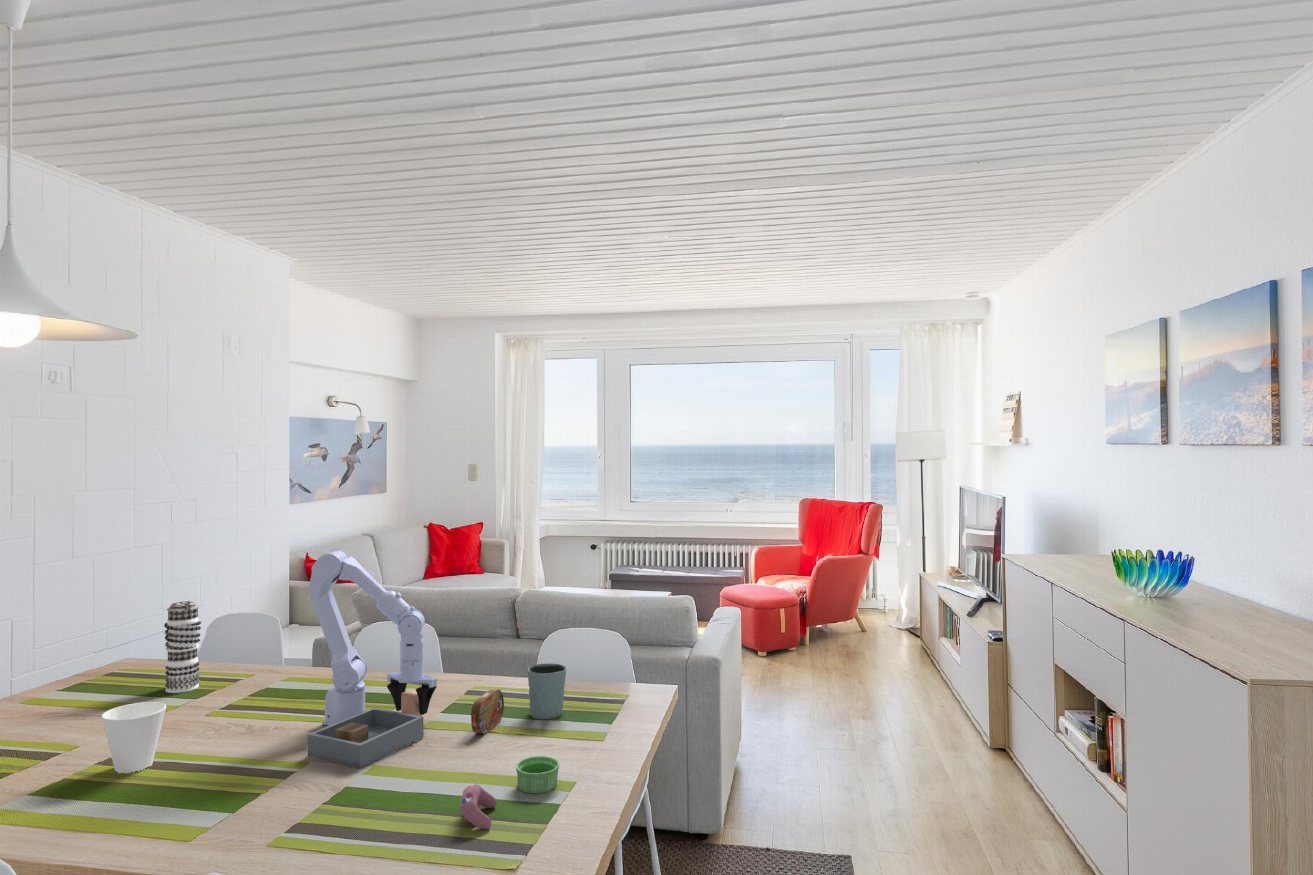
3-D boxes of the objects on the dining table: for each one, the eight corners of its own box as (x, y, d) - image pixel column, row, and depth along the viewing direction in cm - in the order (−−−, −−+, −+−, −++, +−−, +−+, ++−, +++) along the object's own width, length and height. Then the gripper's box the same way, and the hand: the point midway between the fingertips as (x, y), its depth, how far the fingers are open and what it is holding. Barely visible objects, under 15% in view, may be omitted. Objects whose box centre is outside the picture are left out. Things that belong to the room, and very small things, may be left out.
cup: (95, 782, 160) (96, 723, 161) (105, 762, 171) (106, 706, 171) (162, 771, 166) (163, 714, 166) (168, 752, 176) (169, 698, 177)
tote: (307, 756, 174) (307, 734, 174) (373, 727, 192) (373, 707, 193) (360, 768, 168) (360, 745, 168) (423, 737, 186) (423, 716, 186)
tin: (480, 739, 185) (480, 704, 185) (468, 738, 186) (468, 703, 186) (505, 717, 200) (505, 685, 200) (493, 717, 200) (493, 684, 200)
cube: (335, 751, 175) (335, 729, 175) (352, 743, 179) (352, 722, 179) (351, 754, 172) (351, 732, 173) (368, 747, 177) (368, 725, 177)
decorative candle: (188, 693, 220) (189, 605, 220) (156, 693, 220) (157, 605, 220) (207, 683, 229) (208, 599, 229) (176, 683, 229) (177, 599, 229)
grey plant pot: (520, 716, 200) (520, 670, 200) (540, 705, 210) (540, 661, 210) (554, 722, 196) (554, 675, 197) (572, 709, 206) (573, 664, 206)
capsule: (396, 722, 196) (397, 694, 197) (410, 715, 201) (410, 689, 201) (412, 724, 194) (412, 697, 194) (425, 718, 199) (425, 691, 199)
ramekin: (539, 799, 153) (539, 777, 153) (506, 788, 158) (506, 766, 158) (568, 783, 161) (568, 761, 161) (535, 773, 165) (536, 752, 166)
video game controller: (477, 814, 150) (461, 783, 149) (498, 803, 150) (482, 771, 150) (470, 840, 140) (452, 806, 140) (492, 828, 140) (475, 794, 140)
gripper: (378, 659, 197) (378, 712, 197) (423, 665, 191) (423, 720, 191) (397, 653, 204) (397, 704, 203) (442, 658, 198) (442, 711, 198)
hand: (411, 711), depth 198 cm, fingers open, 7 cm apart
